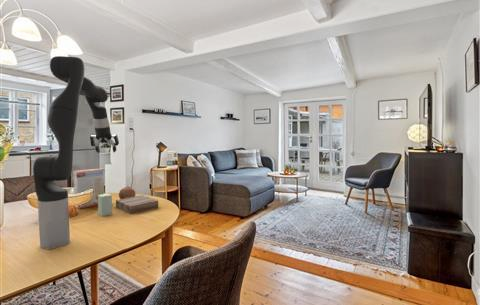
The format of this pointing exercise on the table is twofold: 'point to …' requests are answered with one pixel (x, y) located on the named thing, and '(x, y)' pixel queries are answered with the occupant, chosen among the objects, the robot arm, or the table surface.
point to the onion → (126, 193)
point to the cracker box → (89, 184)
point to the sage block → (104, 204)
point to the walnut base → (136, 204)
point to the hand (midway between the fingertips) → (106, 152)
